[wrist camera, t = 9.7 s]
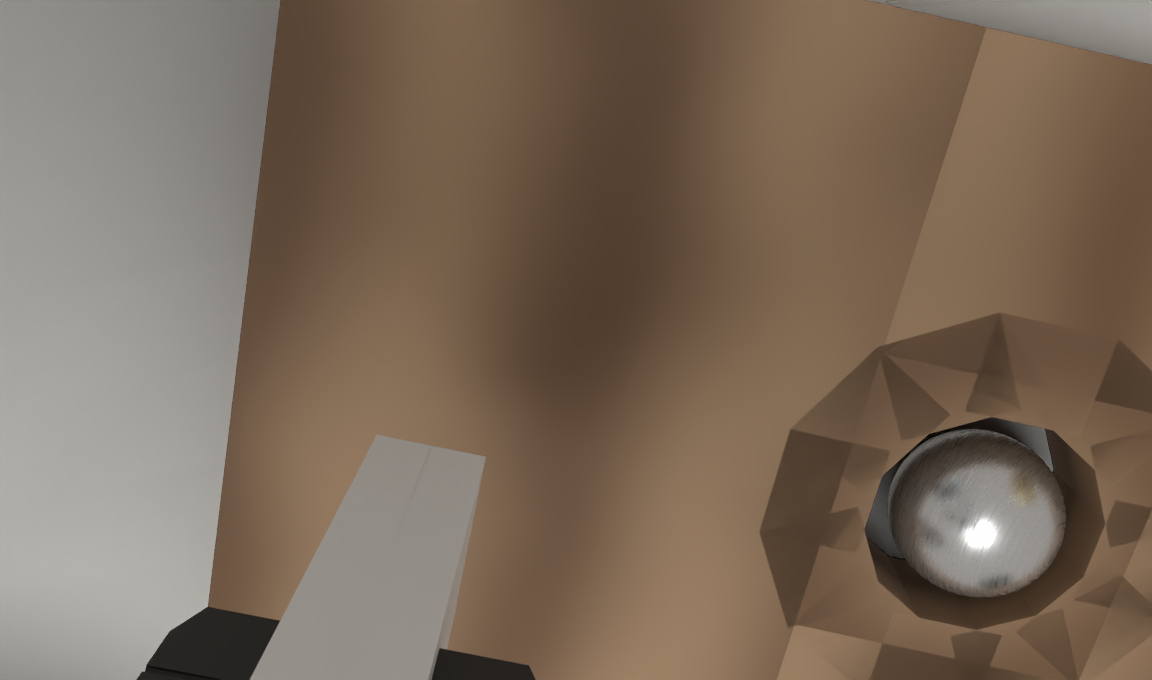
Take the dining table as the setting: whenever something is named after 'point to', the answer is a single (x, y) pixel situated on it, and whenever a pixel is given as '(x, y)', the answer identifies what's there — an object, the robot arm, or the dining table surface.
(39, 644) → the dining table surface
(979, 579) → the steel ball
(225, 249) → the dining table surface
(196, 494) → the dining table surface
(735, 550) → the wooden board
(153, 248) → the dining table surface
